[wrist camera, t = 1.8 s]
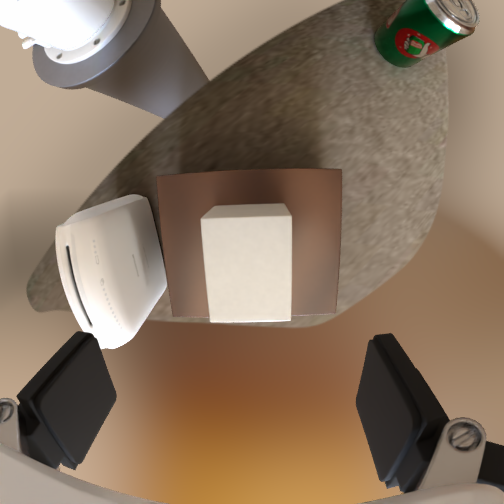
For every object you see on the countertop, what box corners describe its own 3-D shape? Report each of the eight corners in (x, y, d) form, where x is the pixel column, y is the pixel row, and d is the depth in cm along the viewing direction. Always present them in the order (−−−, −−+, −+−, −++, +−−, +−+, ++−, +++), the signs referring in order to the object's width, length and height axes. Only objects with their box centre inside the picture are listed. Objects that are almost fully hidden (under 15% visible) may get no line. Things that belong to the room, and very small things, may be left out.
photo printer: (173, 289, 29) (128, 363, 18) (137, 293, 30) (80, 360, 18) (151, 189, 26) (80, 211, 15) (114, 198, 27) (33, 224, 15)
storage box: (188, 288, 29) (172, 317, 24) (177, 173, 26) (155, 176, 20) (322, 285, 29) (335, 313, 23) (324, 167, 25) (342, 169, 20)
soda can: (396, 22, 20) (453, -27, 9) (423, 61, 21) (493, 26, 10) (362, 34, 21) (414, -23, 10) (391, 75, 22) (459, 37, 11)
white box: (219, 290, 23) (209, 322, 18) (213, 205, 21) (200, 218, 16) (285, 288, 22) (291, 321, 18) (284, 203, 21) (292, 215, 16)
